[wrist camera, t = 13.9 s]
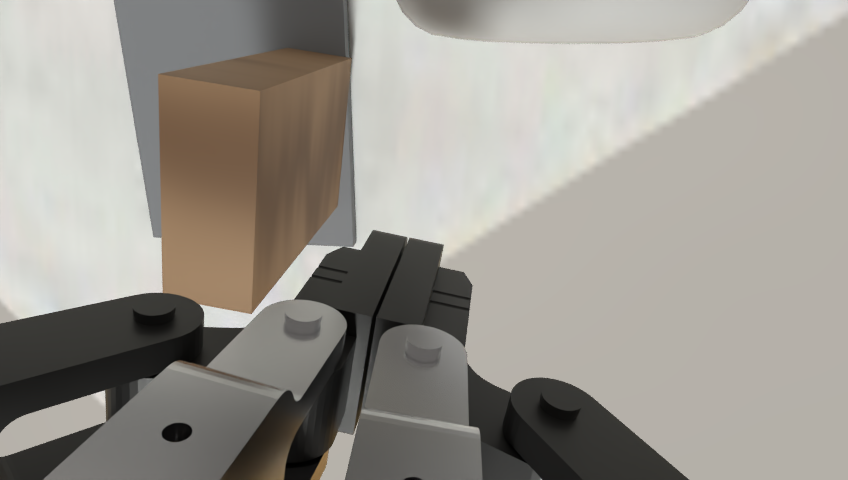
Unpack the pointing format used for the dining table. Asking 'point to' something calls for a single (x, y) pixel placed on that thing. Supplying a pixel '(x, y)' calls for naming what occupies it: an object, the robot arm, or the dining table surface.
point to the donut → (570, 19)
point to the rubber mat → (218, 41)
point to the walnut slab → (247, 170)
